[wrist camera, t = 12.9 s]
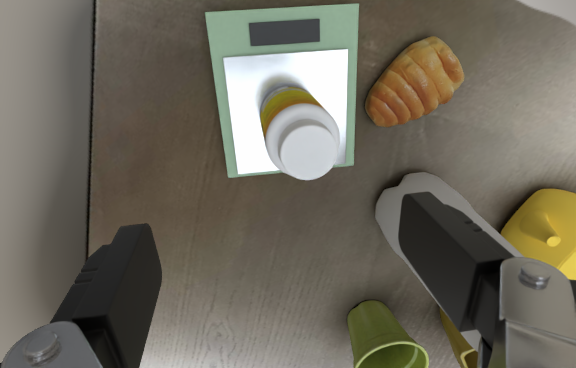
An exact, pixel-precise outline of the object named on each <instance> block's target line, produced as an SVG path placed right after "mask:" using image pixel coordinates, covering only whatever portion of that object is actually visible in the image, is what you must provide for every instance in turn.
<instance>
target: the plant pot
mask: <svg viewBox="0 0 576 368" xmlns="http://www.w3.org/2000/svg"><path fill="white" fill-rule="evenodd" d="M347 324H348V329H349V334H350V339H351V345H352V351H353V356H354V363H353V364H354V368H427V367H428V365H429V357H428V354H427V352H426V350H425V349H424V348H423V347H422V346H421V345H419V344H418V343H416V342H415V341H414V340H413V339H412V338H410V337H409V335H408V334H407V333H406V331H405V330H404V329H403V328H402V326H401V325H400V324H399V322H398V321H397V320H396V318H395V317H394V316H393V314H392V313H391V311H390V310H389V309H388V307H387V306H386V305H384V304H383V303H382V302H380V301H375V300H370V301H365V302H362V303H360V304H359V305H358V306H357V307H356V308H354V309H352V310H351V311H350V312H349V314H348V317H347Z"/></svg>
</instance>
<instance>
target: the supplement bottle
mask: <svg viewBox="0 0 576 368" xmlns="http://www.w3.org/2000/svg"><path fill="white" fill-rule="evenodd" d="M260 123H261V128H262V132H263V137H264V141H265V146H266V150H267V153H268V156H269V158H270V160H271V161H272V163H273V164H274V165H275V166H276V167H277V168H278V169H279V170H281V171H282V172H284V173H286V174H289V175H291V176H293V177H295V178H298V179H301V180H312V179H316V178H319V177H321V176H323V175H324V174H326V173H327V172H328V171H329V170H330V169H331V168H332V166H333V165H334V163H335V161H336V158H337V153H338V149H339V144H340V132H339V128H338V125H337V123H336V121H335V120H334V118H333V117H332V116H331V115H330V113H329V112H328V111H327V110H326V109H325V108H324V107H323V106H322V105H321V104H320V103H319V102H318V101H317V100H316V99H315V98H314V97H313V96H312V95H311V94H310V93H309V92H308V91H306V90H305V89H302V88H300V87H295V86H286V87H281V88H279V89H277V90H275V91H273V92H272V93H271V94H270V95H269V96H268V97H267V98H266V99H265V101H264V103H263V105H262V108H261V112H260Z"/></svg>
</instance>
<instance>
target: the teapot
mask: <svg viewBox="0 0 576 368" xmlns="http://www.w3.org/2000/svg"><path fill="white" fill-rule="evenodd" d="M501 236H502V237H504V238H505V239H506V240H507V241H508V242H509V243H510V244H511V245H512V246H513V247H514V248H515V249H517V250H518V251H519V252H520V253H521V254H522V255H523V256H524V257H527V258H533V259H536V260H540V261H542V262H545V263H547V264H550V265H551V266H553V267H555V268H557V269H558V270H560V271H561V272H562V273H563V274H564V275H565V276H566V277H567V278H568V279H571V280H576V193H572V192H569V191H565V190H560V189H541V190H538V191H537V192H535V193H534V194H533V195H532V196H531V197H530V198H528V200H527V201H526V202H525V203H524V204H523V205H522V206H521V207H520V208H519V209H518V210H517V211H516V212H515V214H514V215H513V216H512V217H511V219H510V220H509V221H508V222H507V224H506V225H505V226H504V228H503V229H502V231H501Z"/></svg>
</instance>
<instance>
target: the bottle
mask: <svg viewBox="0 0 576 368" xmlns="http://www.w3.org/2000/svg"><path fill="white" fill-rule="evenodd" d="M426 191H429V192H431V193H432V194H433V195H434V196H435V197H436V198H438V199H439V200H440V201H441V202H442V203H443V204H447V205H449V206H452V207H454V208H456V209H458V210H460V211H462V212H463V213H465V214H466V215H467V216H468V217H469V218H470V219H472V220H473V223H476V224H477V225H479V226H480V227H481V228H482V230H483V231H486V232H487V233H488V234H489V235H490V236H491V237H493V238H494V239H495V240H496V241H497V242H498V243H500V244H501V245H502V246H503V247H504V248H505V249H507V250H508V251H509V252H510V253H511V254H513V255H514V256H515V257H524V256H523V255H522V254H521V253H520V252H519V251H518V250H517V249H515V248H514V247H513V246H512V245H511V244H510V243H509V242H508V241H507V240H506V239H505V238H504V237H502V236H501V235H500V234H499V233H498V232H497V231H496V230H495V229H494V228H493V227H492V226H490V225H489V224H488V223H487V222H486V221H485V220H484V219H483V218H482V217H481V216H480V215H479V214H477V213H476V212H475V211H474V209H473V208H472V206H471V205H470V203H469V202H468V201H467V200H466V199H465V198H464V197H463V196H462V195H461V194H460V193H458V192H457V191H456V190H454V189H453V188H452V187H450V186H449V185H448V184H446V183H445V182H444V181H443V180H441V179H440V178H439V177H438V176H435V175H432V174H429V173H426V172H420V173H410V174H407V175H405V176H404V177H403V179H402V181H401V183H400V184H399V186H397V187H392V188H388V189H384V191H383V192H382V194H381V196H380V198H379V200H378V202H377V204H376V212H375V219H376V221H377V222H378V224H379V226H380V227H381V230H382V232H383V235H384V236H385V238H386V239H387V241H388V242H389V244H390V246H391V247H392V249H393V250H394V252H395V253H396V254H398V255H399V256H400V257H401V258H402V259H404V261H405V262H406V263H407V265H408V266H409V267H410V268H411V270H412V271H413V272H414V274H415V275H416V276H417V277H418V279H419V280H420V281H421V283H422V284H423V285H424V287H425V288H426V289H427V290H428V292H429V293H430V294H431V296H432V297H433V298H434V299H435V297H434V296H433V295H432V293H431V292H430V290H429V289H428V288H427V286H426V285H425V283H424V282H423V281H422V279H421V278H420V276H419V275H418V274H417V272H416V271H415V269H414V268H413V267H412V265H411V264H410V262H409V261H408V260H407V258H406V257H405V255H404V254H403V253H402V251H401V248H400V245H399V240H398V231H399V222H400V213H401V204H402V198H403V196H404V195H405V194H409V193H417V192H426ZM435 301H436V302H437V300H436V299H435ZM437 303H438V302H437ZM438 305H439V306H440V304H439V303H438ZM440 307H441V306H440ZM441 308H442V307H441ZM442 310H443V309H442ZM443 311H444V310H443ZM444 312H445V311H444ZM445 314H446V313H445ZM446 315H447V314H446ZM449 319H450V318H449ZM460 333H461V334H462V336H463V337H464V338H465V339H466V341H467V342H468V343H469V344H470V345H471V346H472V347H473V348H474V349H475V350H476V351H477V352H478V346H479V341H480V337H481V334H480V333H479V332H478V330H471V331H465V332H460Z"/></svg>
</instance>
